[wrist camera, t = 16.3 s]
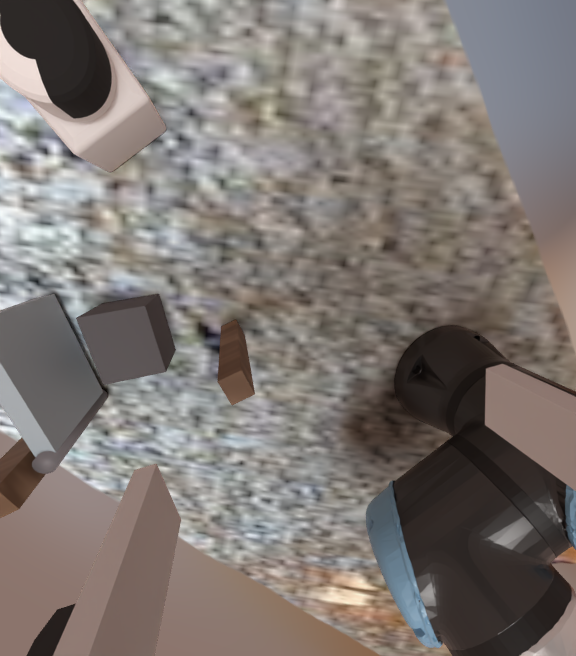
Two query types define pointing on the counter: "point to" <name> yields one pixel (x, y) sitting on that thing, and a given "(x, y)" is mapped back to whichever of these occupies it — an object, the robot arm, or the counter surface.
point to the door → (45, 380)
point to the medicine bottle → (76, 80)
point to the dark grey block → (128, 338)
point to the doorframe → (233, 376)
